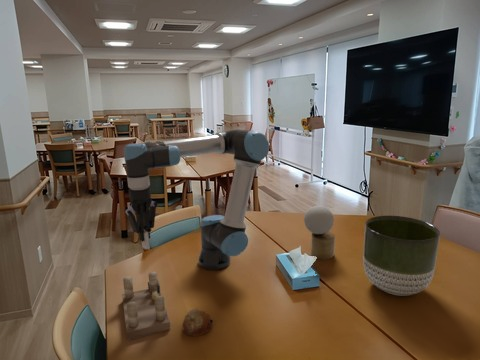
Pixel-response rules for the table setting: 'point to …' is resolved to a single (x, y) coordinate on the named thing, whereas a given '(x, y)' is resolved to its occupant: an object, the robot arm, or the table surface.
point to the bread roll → (197, 322)
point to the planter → (400, 253)
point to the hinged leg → (153, 284)
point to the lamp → (320, 231)
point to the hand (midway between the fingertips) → (146, 247)
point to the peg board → (143, 311)
